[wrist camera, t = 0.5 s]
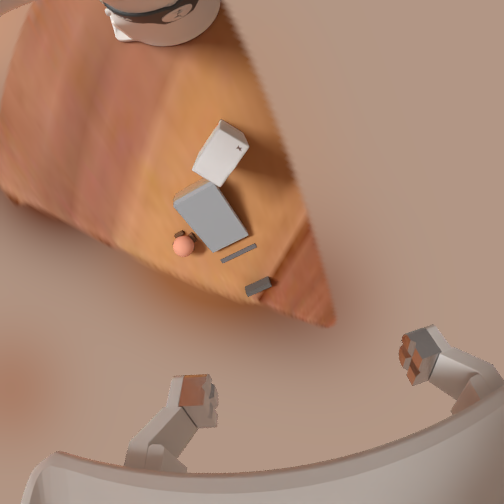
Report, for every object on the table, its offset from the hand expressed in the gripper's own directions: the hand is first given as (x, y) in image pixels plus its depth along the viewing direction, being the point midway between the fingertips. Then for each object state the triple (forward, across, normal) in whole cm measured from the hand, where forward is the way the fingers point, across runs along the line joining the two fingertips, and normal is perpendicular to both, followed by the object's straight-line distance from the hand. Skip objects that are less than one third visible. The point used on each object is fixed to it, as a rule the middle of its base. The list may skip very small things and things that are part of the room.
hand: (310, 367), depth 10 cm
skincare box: (+37, +4, -7) cm, 38 cm away
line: (+39, +6, +13) cm, 41 cm away
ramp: (+38, +8, +5) cm, 39 cm away
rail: (+40, +4, +21) cm, 45 cm away
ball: (+38, +15, +8) cm, 41 cm away
